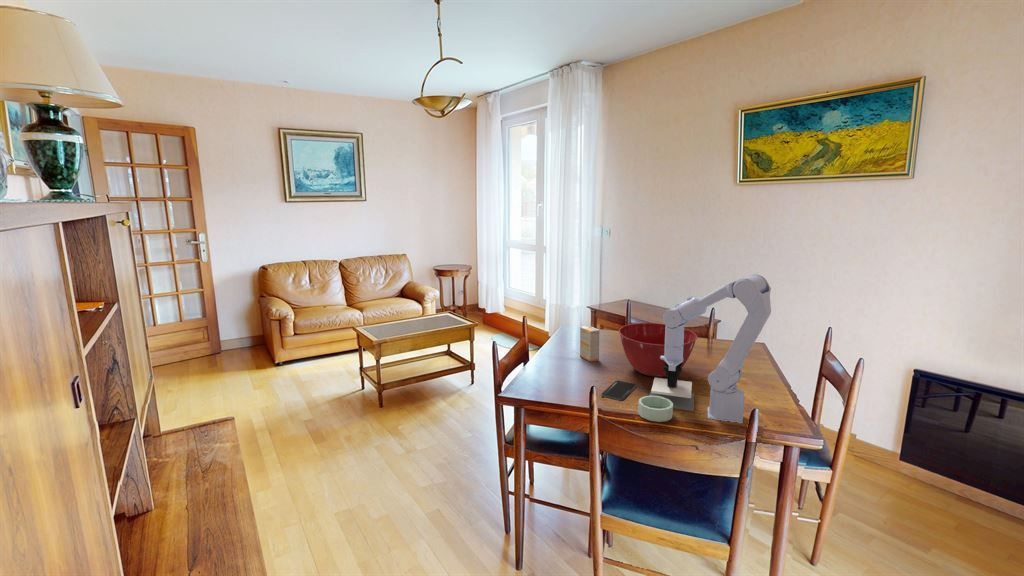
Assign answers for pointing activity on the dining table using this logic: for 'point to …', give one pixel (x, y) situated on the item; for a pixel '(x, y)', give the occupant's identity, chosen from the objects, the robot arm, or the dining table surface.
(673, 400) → the mat
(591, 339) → the supplement box
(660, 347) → the mixing bowl
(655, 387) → the lid
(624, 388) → the phone
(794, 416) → the dining table surface
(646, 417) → the bowl
